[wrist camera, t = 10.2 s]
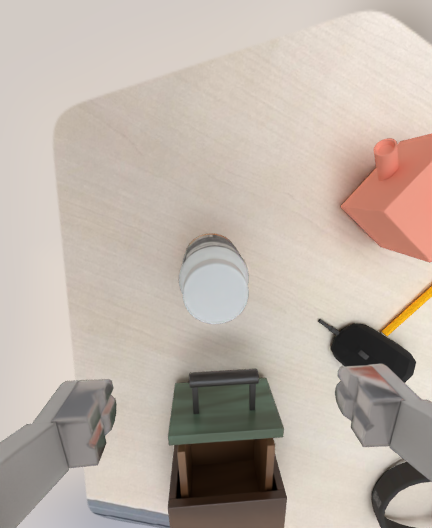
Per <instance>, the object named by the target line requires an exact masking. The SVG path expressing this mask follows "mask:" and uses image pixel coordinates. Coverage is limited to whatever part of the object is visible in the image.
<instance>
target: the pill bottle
mask: <svg viewBox="0 0 432 528" xmlns="http://www.w3.org/2000/svg"><path fill="white" fill-rule="evenodd" d="M248 283H249V274H248V269H247V266H246V264H245V262H244V260H243V258H242V257H241V255H240V254H239V252H238V251H237V249H236V248H235V246H234V245H233V244H232V242H231V241H230V240H229V239H227V238H226V237H224V236H222V235H219V234H213V233H209V234H204V235H201V236H199V237H197V238H196V239H194V240H193V241H192V242H191V243H190V245H189V246H188V248H187V250H186V253H185V255H184V259H183V263H182V267H181V270H180V274H179V285H180V289H181V292H182V294H183V300H184V304H185V306H186V308H187V310H188V311H189V313H190V314H191V315H192V316H194V317H195V318H196V319H198V320H200V321H202V322H205V323H209V324H221V323H226V322H228V321H230V320H232V319H234V318H236V317H237V316H238V315H239V314H240V313H241V312H242V311H243V309H244V308H245V306H246V304H247V301H248V296H249V290H248Z"/></svg>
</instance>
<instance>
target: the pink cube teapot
mask: <svg viewBox="0 0 432 528" xmlns="http://www.w3.org/2000/svg"><path fill="white" fill-rule="evenodd" d="M374 156H375V162H376V168H375V169H374V170H373V172H372V173H371V174H370V175H369V176H368V177H367V178H366V179H365V180H364V181H363V182H362V183H361V184H360V186H359V187H358V188H357V189H356V190H355V191H354V192H353V193H352V194H351V195H350V196H349V197H348V199H347V200H346V201H345V202H344V203H343V204H342V205H341V206H340V207H341V208H342V209H343V210H344V211H345V212H346V213H347V214H348V215H349V216H350V217H351V218H352V219H353V220H354V221H355V222H356V223H357V224H358V225H359V226H360V227H361V228H362V229H363V230H364V231H365V232H366V233H367V234H368V235H369V236H370V237H371V238H372V239H373V240H374V241H375V242H376V243H377V244H378V245H379V246H380V247H383V248H386V249H389V250H392V251H395V252H399V253H402V254H405V255H408V256H411V257H414V258H417V259H421V260H424V261H427V262H432V134H428V135H424V136H420V137H416V138H412V139H408V140H404V141H400V142H399V144H398V145H397V142H396V140H394V139H384V140H381V141H380V142H378V143H377V144H376V145H375V147H374Z"/></svg>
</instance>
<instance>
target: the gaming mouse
mask: <svg viewBox="0 0 432 528" xmlns="http://www.w3.org/2000/svg"><path fill="white" fill-rule="evenodd" d="M318 322H319V323H321V324H322V325H324V326H325V327H327V328H328V329H329V331H331V332H332V333H334V334H335V335H336V336H335V338H334V340H333V343H332V346H331V350H332V352H333V355H334V357H335V358H336V359H337V360H338V361H339V362H340V363H342V364H343V365H344V366H360V365H371V364H384V365H386V366H387V367H388V368H389V369H390V370H391V371H392V372H393V373H394V374H396V375H397V376H398V377H399V378H400V379H401V380H402V381H403V382H404V383H405V382H406V381H407V380H408V379H409V378H410V377H411V376H412V375H413V373H414V369H415V364H416V361H415V360H414V358H413V356H412V355H411V354H410V353H409V352H408V351H407V350H405V349H404V348H403V347H401V346H400V345H398V344H397V343H395V342H394V341H392V340H390V339H389V338H387V337H385V336H384V335H382V334H381V333H379V332H377V331H376V330H374V329H372V328H370V327H369V326H367V325H363V324H352V325H350V326H348V327H346V328H344V329H342V330H341V331H340V332H339V331H338V330H336V329H335V328H334V327H333V326H329V325H328V324H326V323H325V322H324V321H322V320H321V319H319V320H318Z"/></svg>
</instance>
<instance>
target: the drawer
mask: <svg viewBox="0 0 432 528" xmlns="http://www.w3.org/2000/svg"><path fill="white" fill-rule="evenodd" d="M283 431H284V428H283V425H282V422H281V419H280V416H279V413H278V410H277V407H276V404H275V401H274V399H273V396H272V393H271V390H270V387H269V384H268V381H267V378H259V375H258V371H257V369H244V370H227V371H210V372H193V373H190V374H189V383H175V388H174V396H173V403H172V411H171V418H170V425H169V433H168V441H169V445H178V450H177V455H178V466H179V477H180V487H181V498H194V497H206V496H218V495H230V494H241V493H253V492H265V491H272V482H273V467H274V453H275V444H274V440H273V438H277V437H283Z"/></svg>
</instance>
